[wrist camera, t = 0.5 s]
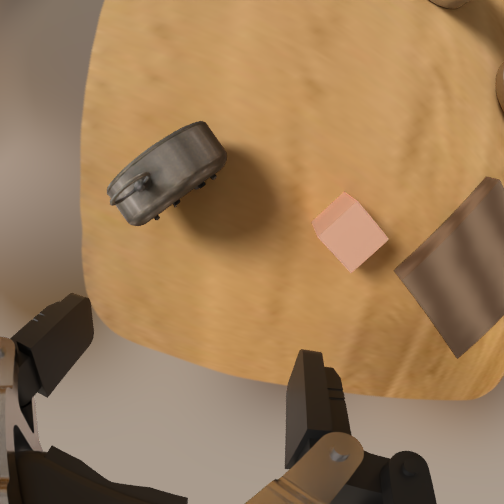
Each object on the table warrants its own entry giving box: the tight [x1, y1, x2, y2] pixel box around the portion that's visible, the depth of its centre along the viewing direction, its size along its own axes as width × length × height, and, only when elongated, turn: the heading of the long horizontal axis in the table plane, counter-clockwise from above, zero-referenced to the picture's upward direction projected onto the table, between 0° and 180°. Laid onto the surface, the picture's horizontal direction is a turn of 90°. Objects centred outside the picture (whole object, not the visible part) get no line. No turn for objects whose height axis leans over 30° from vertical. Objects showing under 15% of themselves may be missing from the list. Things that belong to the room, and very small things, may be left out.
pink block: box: [311, 192, 389, 273], centre depth 30 cm, size 5×5×6 cm
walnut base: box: [394, 177, 504, 359], centre depth 32 cm, size 18×18×3 cm
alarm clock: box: [107, 121, 227, 226], centre depth 25 cm, size 11×5×16 cm, turn 123°
